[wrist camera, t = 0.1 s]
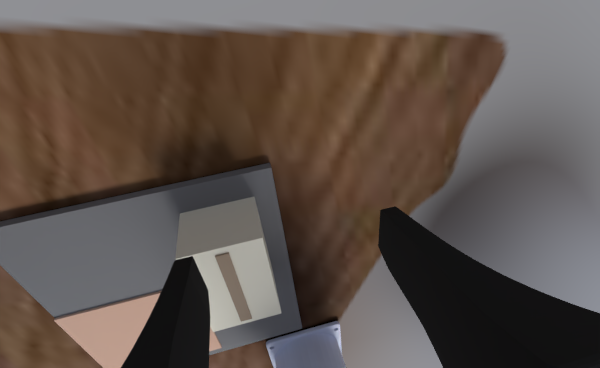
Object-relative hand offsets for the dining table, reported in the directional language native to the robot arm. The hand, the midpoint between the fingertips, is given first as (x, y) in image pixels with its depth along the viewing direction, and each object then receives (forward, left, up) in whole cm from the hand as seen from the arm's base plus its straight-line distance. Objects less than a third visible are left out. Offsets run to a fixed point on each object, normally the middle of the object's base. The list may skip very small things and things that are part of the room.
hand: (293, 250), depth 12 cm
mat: (-12, +9, -10) cm, 18 cm away
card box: (-8, +4, -9) cm, 13 cm away
